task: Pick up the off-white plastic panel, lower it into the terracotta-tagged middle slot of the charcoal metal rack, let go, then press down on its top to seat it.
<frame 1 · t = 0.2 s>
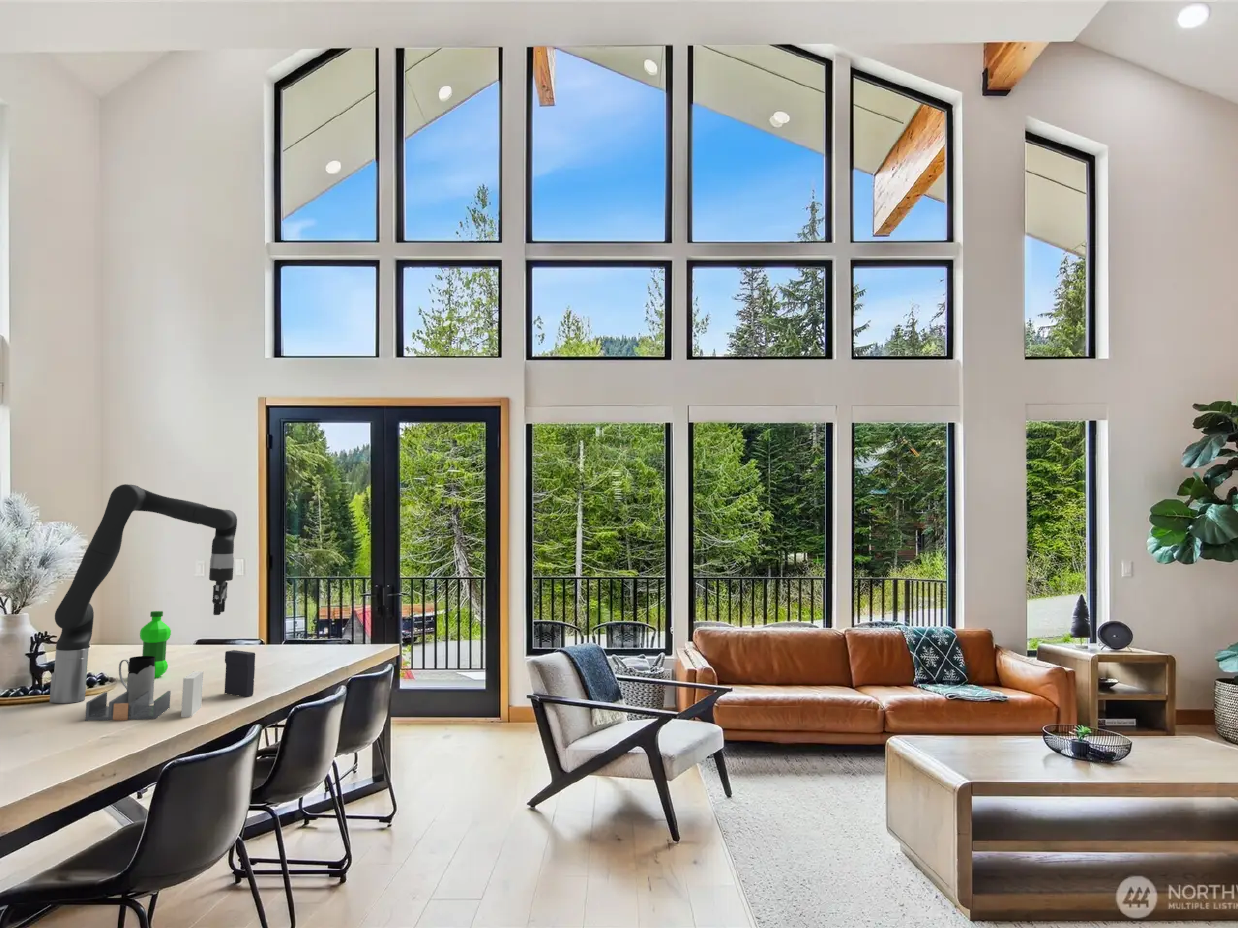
hand: (218, 613, 290), 29 cm above the table, tool pointing down, fingers open, 8 cm apart
tall mug: (133, 703, 278), on the table
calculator: (238, 695, 294), on the table
rack: (128, 714, 262), on the table
plastic bottle: (152, 677, 321), on the table
panel: (191, 712, 266), on the table
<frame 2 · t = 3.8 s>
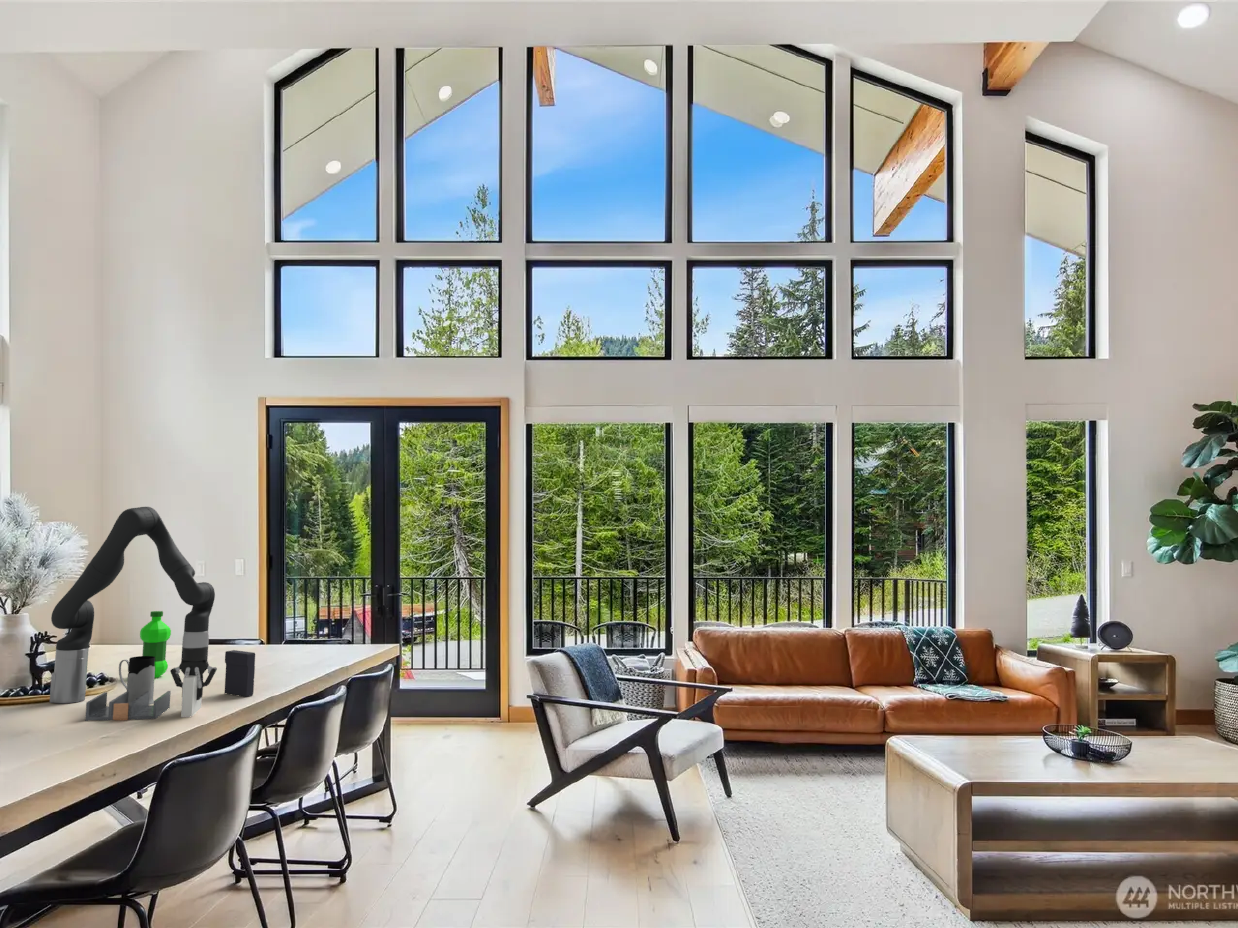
hand: (192, 699, 266), 4 cm above the table, tool pointing down, fingers closed on panel, 3 cm apart
panel: (191, 712, 266), on the table, touching gripper
everything else where it was.
when the fingers open (7 cm above the table, at t = 11.0 s): panel stays where it is, resting on rack.
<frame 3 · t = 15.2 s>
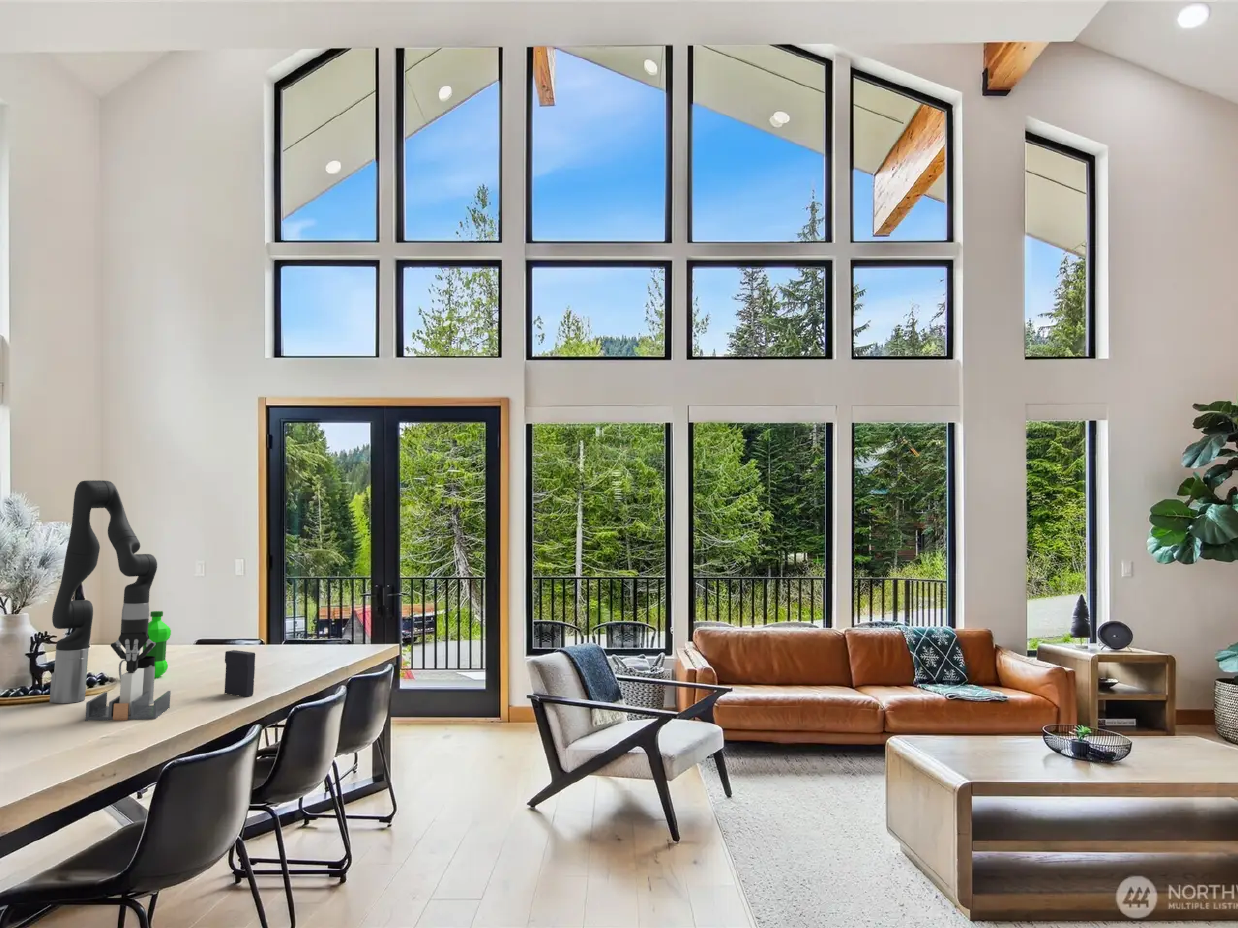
hand: (131, 672, 263), 13 cm above the table, tool pointing down, fingers closed
panel: (130, 709, 263), point 1 cm above the table, touching gripper, rack
everything else where it was.
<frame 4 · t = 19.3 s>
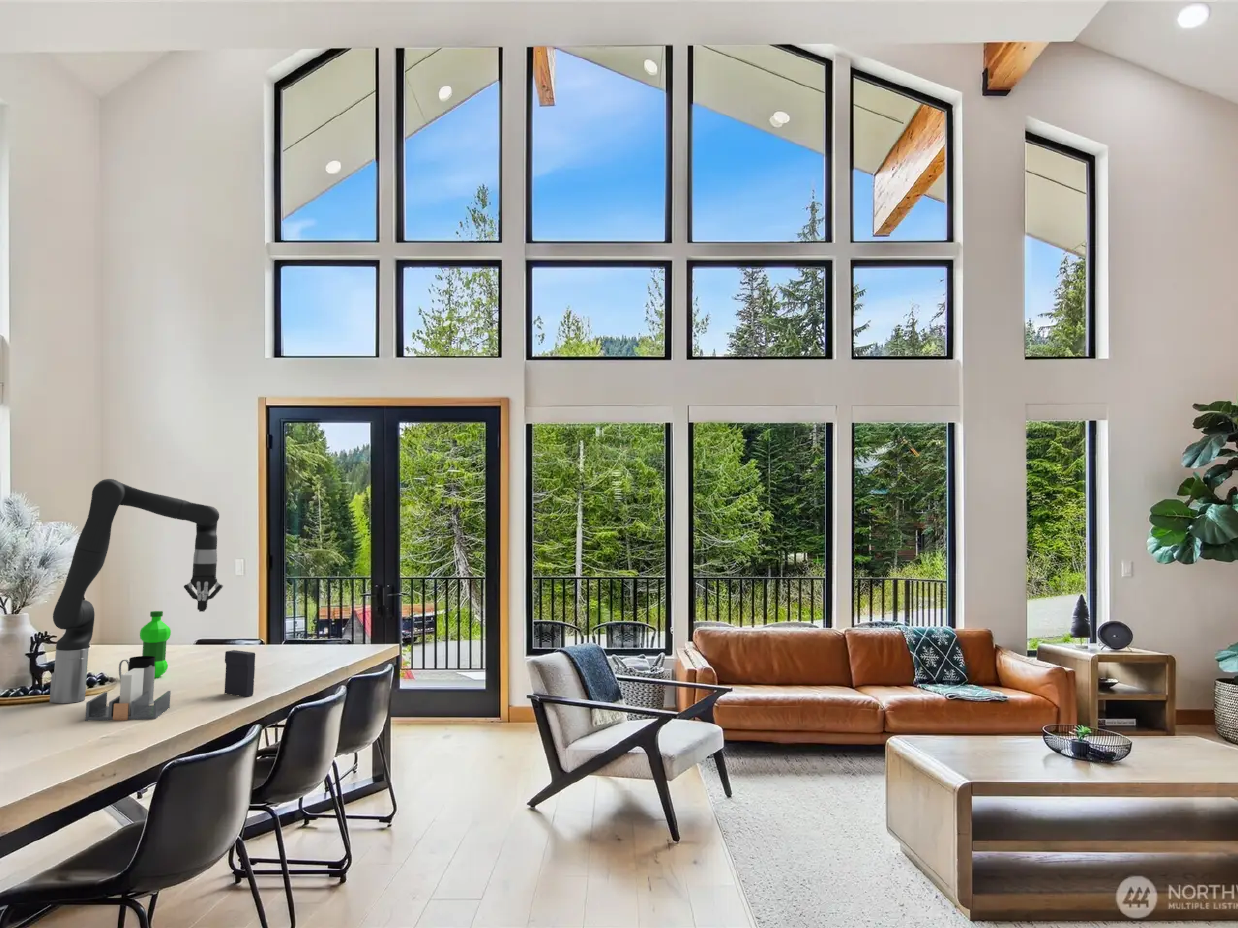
hand: (202, 611, 295), 29 cm above the table, tool pointing down, fingers closed
panel: (130, 709, 263), point 1 cm above the table, touching rack
everything else where it was.
at the end: panel 1.3 cm off-centre on the rack, point 1.0 cm above the rack's base; panel tilted 0°; the gripper is holding nothing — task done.
